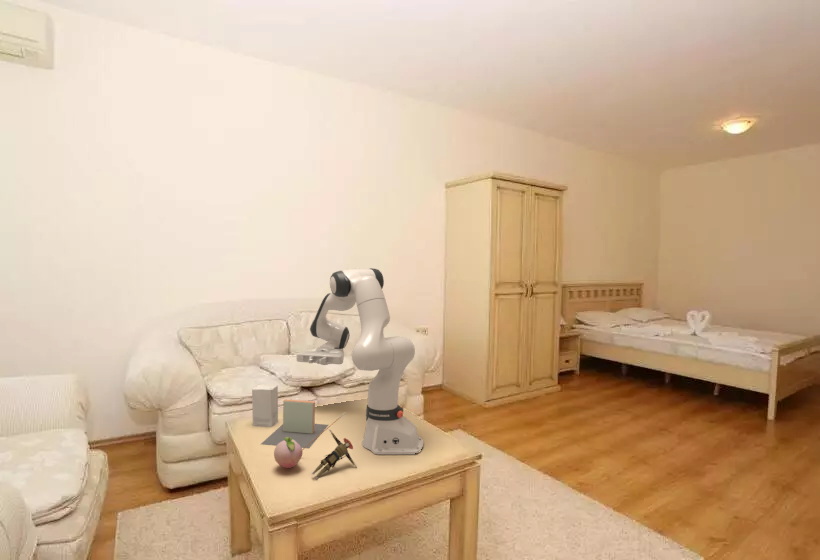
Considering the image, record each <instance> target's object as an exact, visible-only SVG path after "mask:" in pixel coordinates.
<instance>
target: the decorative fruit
mask: <svg viewBox="0 0 820 560" xmlns="http://www.w3.org/2000/svg"><path fill="white" fill-rule="evenodd" d="M302 449H303V448H301V446H300V445H299V444H298V443H297V442H296V441H295V440H293V439H292V438H291V437H285V438H284V440H283V441H282V442H280V443H279V444H278V445H277V446H275V447H274V452H273V457H274V461H275V462H276V463H277V464H278V465H280V466H281V467H283V468H285V469H286V468H287V469H291V468H293V467H295V466H296V465H297V464H298V463H299V462H300V461H301V459H302V456H303V454H304V453H303V451H304V450H302ZM301 450H302V451H301ZM300 451H301V452H300ZM299 452H300V453H299ZM298 453H299V454H298Z"/></svg>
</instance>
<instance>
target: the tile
mask: <svg viewBox="0 0 820 560" xmlns="http://www.w3.org/2000/svg"><path fill="white" fill-rule="evenodd" d="M282 411H283V412H282V424H283V431H284V432H296V433H309V434H313V433H314V430H315V424H316V423H315V420H316V401H312V400H300V399H299V400H298V399H287V398H285V399H284V400H283V409H282Z"/></svg>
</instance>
